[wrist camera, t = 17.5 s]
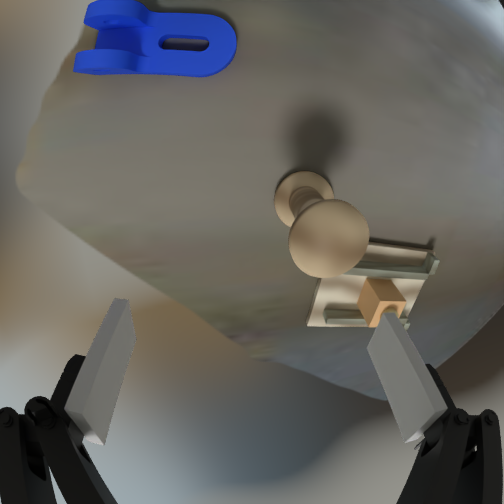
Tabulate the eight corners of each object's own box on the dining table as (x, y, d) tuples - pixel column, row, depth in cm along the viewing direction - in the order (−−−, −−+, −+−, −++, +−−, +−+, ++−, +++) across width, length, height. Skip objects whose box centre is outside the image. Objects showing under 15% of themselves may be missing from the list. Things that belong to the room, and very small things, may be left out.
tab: (365, 278, 44) (382, 305, 37) (391, 279, 44) (409, 305, 38) (356, 303, 46) (370, 331, 40) (381, 304, 46) (396, 330, 40)
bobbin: (279, 166, 36) (298, 196, 25) (337, 176, 37) (378, 209, 26) (270, 223, 40) (283, 275, 29) (325, 229, 41) (356, 280, 29)
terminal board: (329, 237, 41) (337, 248, 38) (432, 249, 43) (443, 260, 40) (305, 321, 49) (309, 336, 45) (400, 321, 51) (407, 334, 47)
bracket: (97, 74, 29) (62, 70, 21) (108, 20, 25) (77, 3, 17) (229, 81, 31) (227, 72, 23) (242, 22, 27) (243, -2, 19)
